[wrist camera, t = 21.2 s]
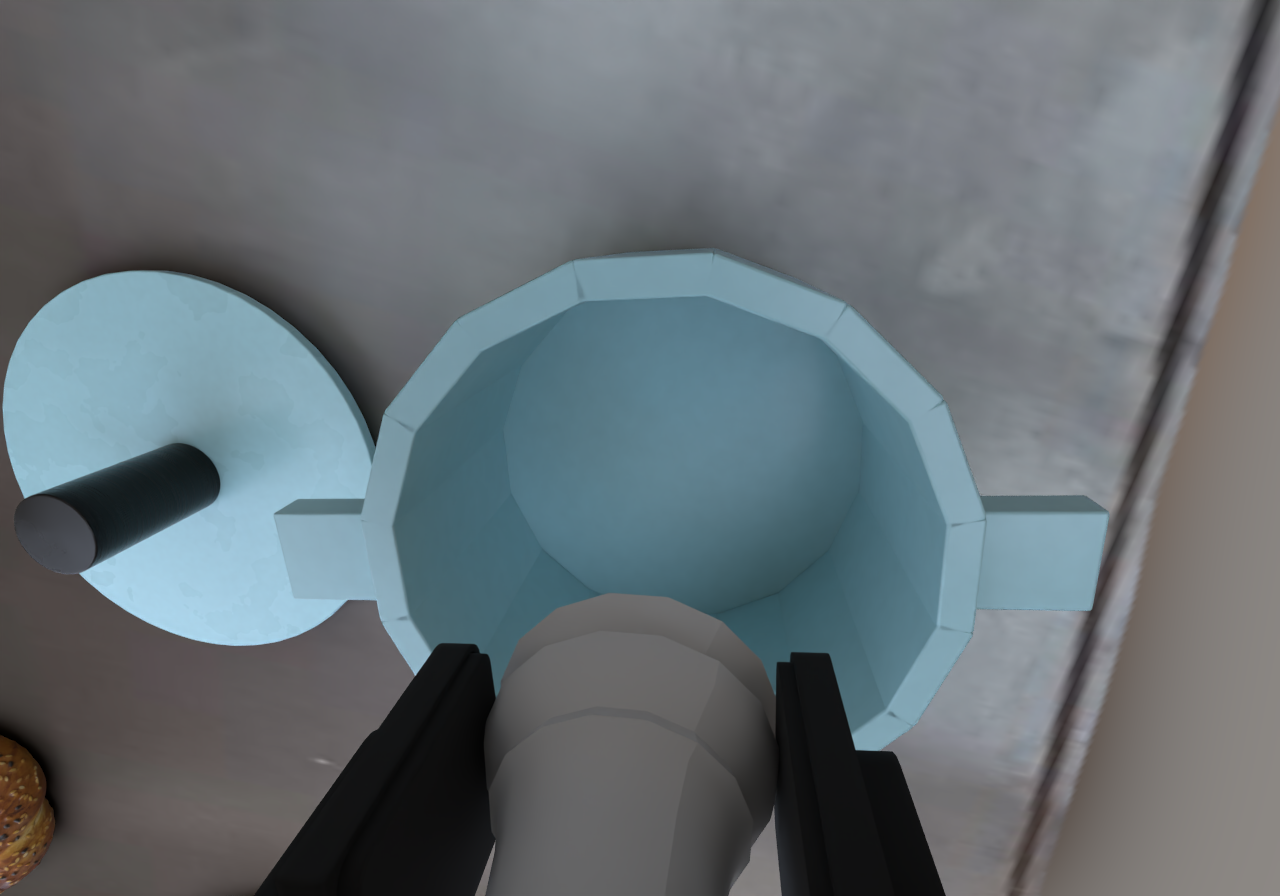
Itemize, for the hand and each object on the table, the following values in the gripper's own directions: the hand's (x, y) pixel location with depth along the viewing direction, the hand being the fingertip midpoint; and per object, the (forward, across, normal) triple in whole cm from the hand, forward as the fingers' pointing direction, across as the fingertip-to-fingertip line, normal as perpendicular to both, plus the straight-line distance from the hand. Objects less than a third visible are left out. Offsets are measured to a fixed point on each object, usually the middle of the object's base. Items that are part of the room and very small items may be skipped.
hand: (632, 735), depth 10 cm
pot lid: (+13, +18, 0) cm, 22 cm away
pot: (+13, 0, 0) cm, 13 cm away
